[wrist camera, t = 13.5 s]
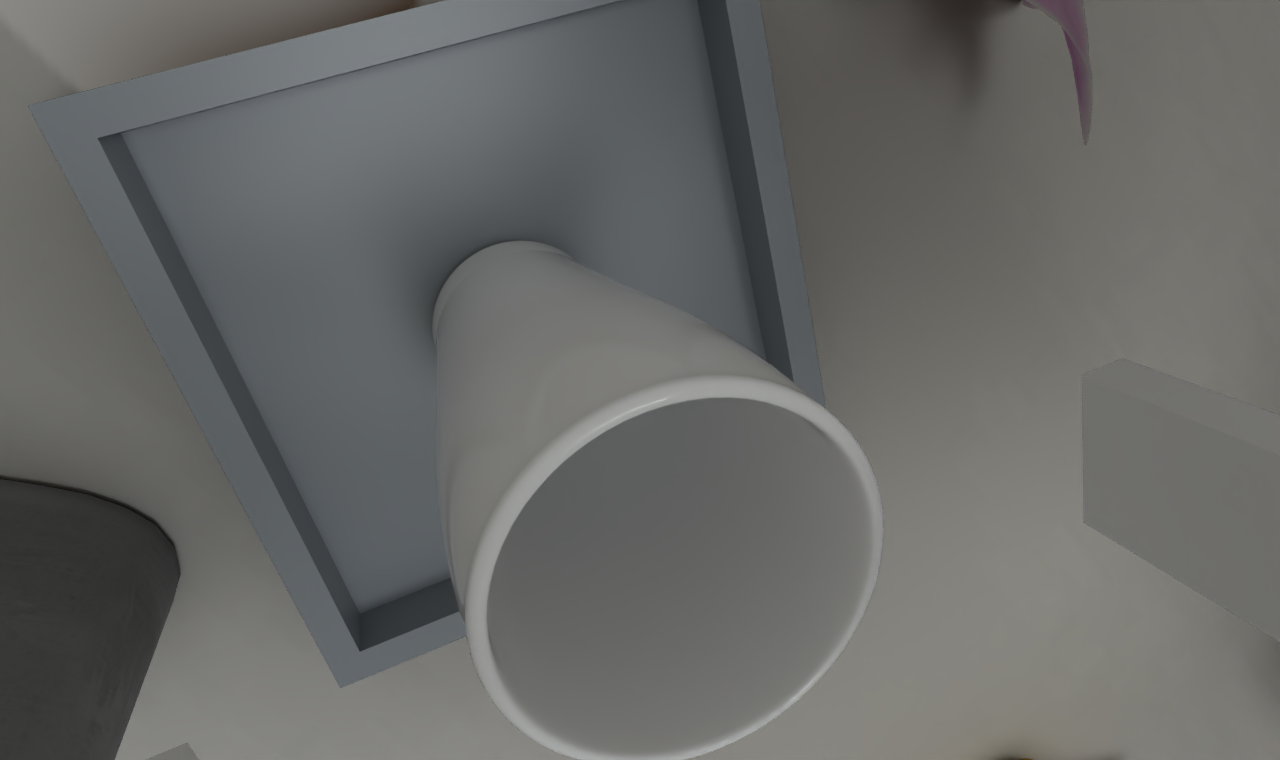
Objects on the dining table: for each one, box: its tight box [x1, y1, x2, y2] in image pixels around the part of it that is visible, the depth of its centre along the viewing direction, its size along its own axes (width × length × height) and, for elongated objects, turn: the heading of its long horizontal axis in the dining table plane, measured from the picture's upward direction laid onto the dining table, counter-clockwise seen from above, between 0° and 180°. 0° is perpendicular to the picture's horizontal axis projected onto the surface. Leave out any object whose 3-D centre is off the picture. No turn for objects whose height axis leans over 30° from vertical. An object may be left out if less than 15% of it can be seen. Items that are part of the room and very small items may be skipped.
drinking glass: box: [432, 240, 884, 760], centre depth 18 cm, size 7×7×15 cm
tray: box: [28, 0, 826, 688], centre depth 25 cm, size 18×18×3 cm
